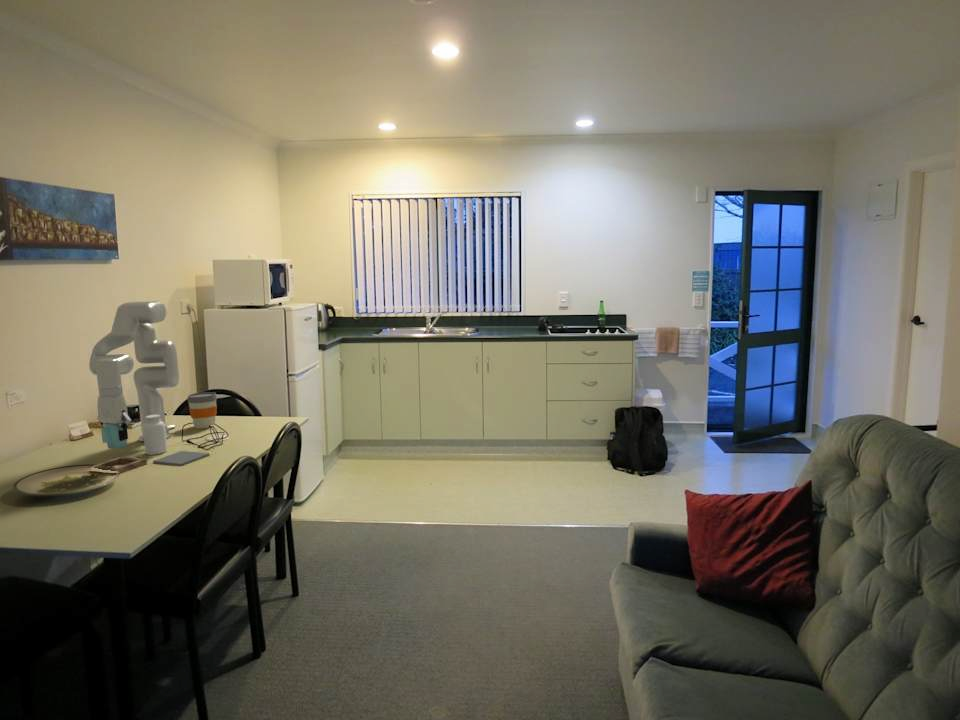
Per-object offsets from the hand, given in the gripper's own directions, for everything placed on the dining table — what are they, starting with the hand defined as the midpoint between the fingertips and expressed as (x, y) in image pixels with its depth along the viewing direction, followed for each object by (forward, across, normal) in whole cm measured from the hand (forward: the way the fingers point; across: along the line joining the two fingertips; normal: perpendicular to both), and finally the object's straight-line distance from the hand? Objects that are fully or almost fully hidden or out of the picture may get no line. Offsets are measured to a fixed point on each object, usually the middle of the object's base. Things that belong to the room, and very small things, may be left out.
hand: (116, 438), depth 239 cm
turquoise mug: (+3, 0, -1) cm, 3 cm away
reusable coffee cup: (+13, -16, +60) cm, 64 cm away
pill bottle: (+12, -2, +19) cm, 22 cm away
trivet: (+11, +16, +14) cm, 24 cm away
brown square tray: (+11, +1, -1) cm, 11 cm away
